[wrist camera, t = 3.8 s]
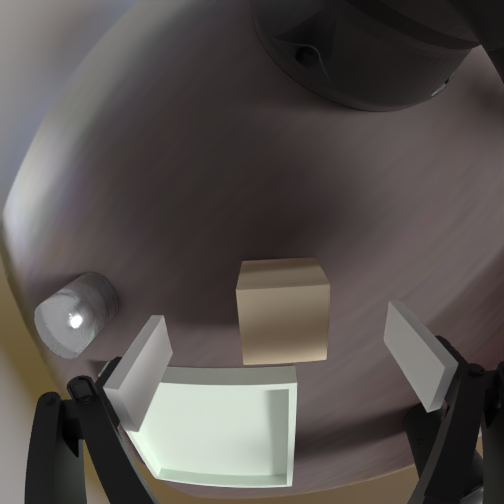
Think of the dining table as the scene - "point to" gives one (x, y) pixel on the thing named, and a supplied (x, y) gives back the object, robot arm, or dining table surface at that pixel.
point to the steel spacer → (76, 314)
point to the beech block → (283, 310)
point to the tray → (221, 426)
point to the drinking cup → (421, 442)
